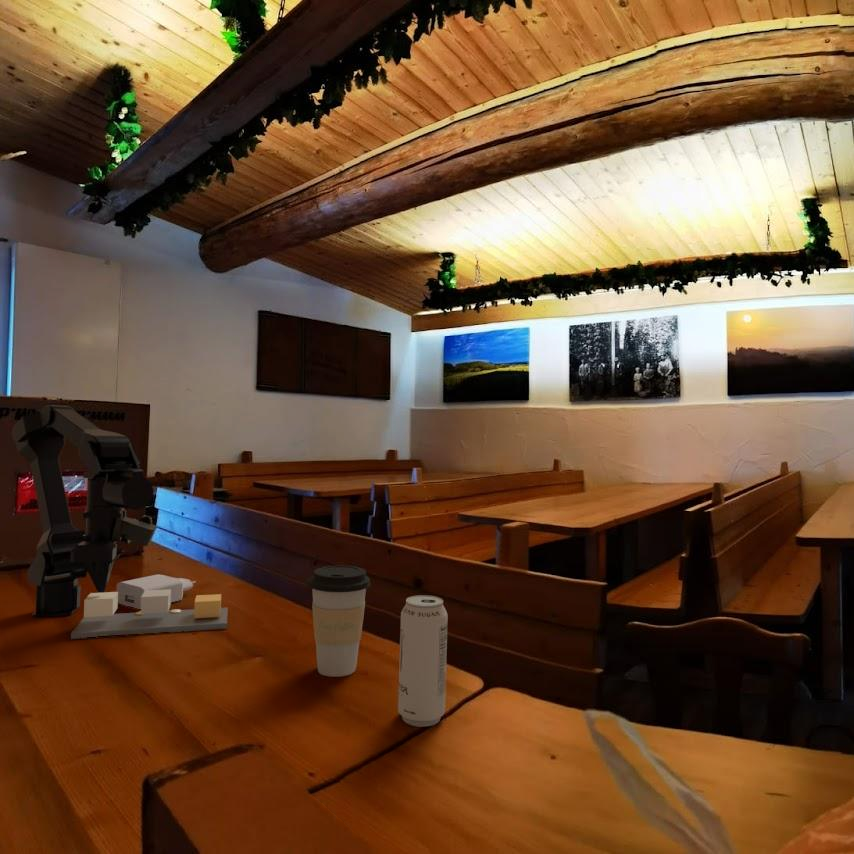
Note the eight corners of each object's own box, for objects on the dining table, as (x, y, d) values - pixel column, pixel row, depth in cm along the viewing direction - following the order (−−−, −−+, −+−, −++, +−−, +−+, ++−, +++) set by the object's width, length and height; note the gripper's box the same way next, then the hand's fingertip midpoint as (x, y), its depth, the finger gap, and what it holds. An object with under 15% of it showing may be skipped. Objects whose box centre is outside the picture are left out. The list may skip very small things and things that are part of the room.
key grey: (140, 613, 106) (141, 597, 106) (144, 606, 110) (144, 590, 111) (167, 612, 108) (168, 595, 108) (170, 605, 112) (171, 589, 112)
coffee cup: (316, 686, 85) (319, 580, 85) (298, 662, 93) (301, 566, 93) (377, 675, 89) (380, 575, 89) (355, 654, 97) (357, 562, 98)
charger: (206, 595, 130) (143, 612, 117) (178, 589, 134) (115, 604, 121) (207, 574, 130) (144, 588, 117) (179, 568, 134) (116, 581, 121)
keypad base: (70, 639, 100) (71, 632, 100) (85, 621, 110) (85, 614, 110) (226, 628, 108) (226, 622, 108) (227, 612, 118) (227, 606, 118)
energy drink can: (399, 705, 79) (402, 593, 80) (444, 707, 79) (447, 594, 79) (395, 727, 73) (399, 606, 74) (444, 730, 73) (448, 608, 73)
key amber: (194, 618, 109) (194, 602, 109) (195, 611, 113) (196, 595, 113) (220, 616, 110) (220, 600, 110) (220, 609, 115) (221, 594, 115)
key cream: (83, 617, 103) (84, 599, 104) (89, 609, 108) (90, 593, 108) (112, 615, 105) (113, 598, 105) (117, 608, 109) (118, 591, 109)
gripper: (146, 511, 100) (142, 604, 100) (160, 498, 118) (157, 577, 118) (71, 511, 97) (67, 608, 97) (97, 498, 115) (94, 580, 114)
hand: (101, 591), depth 106 cm, fingers closed
